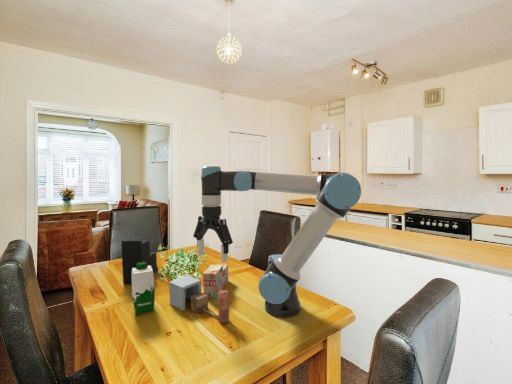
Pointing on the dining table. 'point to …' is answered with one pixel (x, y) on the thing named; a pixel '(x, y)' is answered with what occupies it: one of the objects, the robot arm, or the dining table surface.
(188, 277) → the box
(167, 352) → the dining table surface
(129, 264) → the bookend
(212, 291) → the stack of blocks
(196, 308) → the tethered block
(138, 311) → the milk carton
